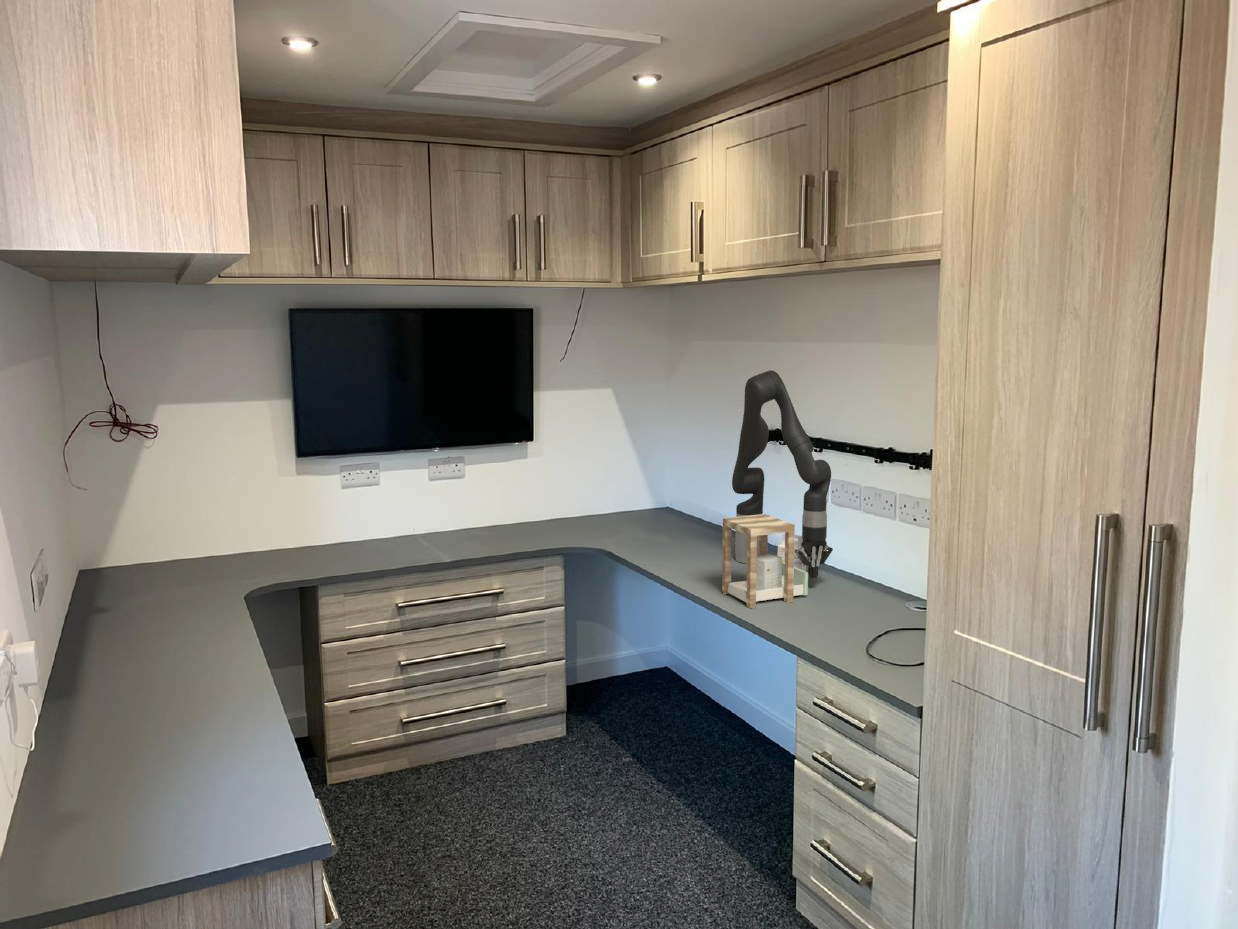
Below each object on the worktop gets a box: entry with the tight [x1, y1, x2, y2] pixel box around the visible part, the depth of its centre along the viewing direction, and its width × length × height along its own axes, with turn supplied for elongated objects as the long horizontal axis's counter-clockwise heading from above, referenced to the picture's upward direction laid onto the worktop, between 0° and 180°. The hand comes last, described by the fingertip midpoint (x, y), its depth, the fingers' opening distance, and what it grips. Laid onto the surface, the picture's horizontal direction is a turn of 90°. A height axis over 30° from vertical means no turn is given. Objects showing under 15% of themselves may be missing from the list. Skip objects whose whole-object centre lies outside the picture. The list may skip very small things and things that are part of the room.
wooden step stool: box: [721, 513, 796, 609], centre depth 284 cm, size 17×15×24 cm
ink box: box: [776, 533, 807, 572], centre depth 304 cm, size 9×5×15 cm, turn 62°
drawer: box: [728, 563, 809, 604], centre depth 287 cm, size 13×21×7 cm, turn 113°
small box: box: [756, 553, 782, 591], centre depth 286 cm, size 8×6×10 cm
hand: (813, 577), depth 293 cm, fingers closed
